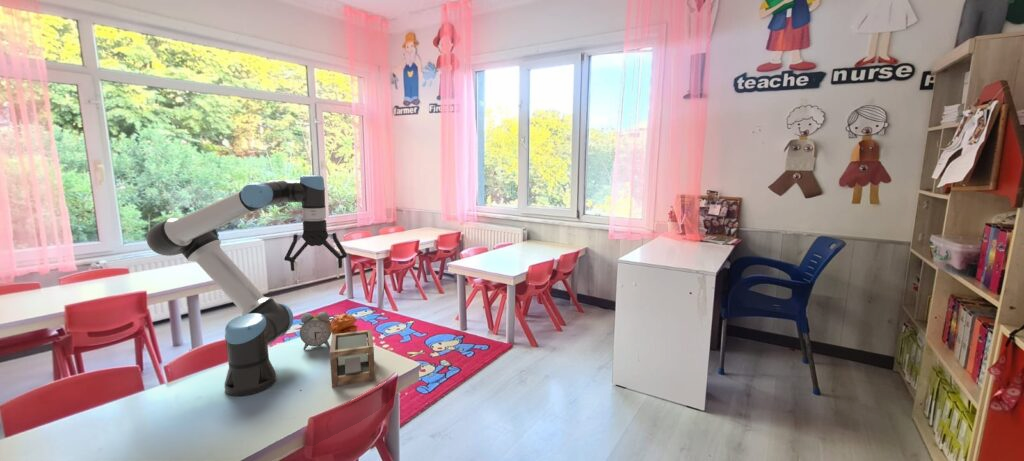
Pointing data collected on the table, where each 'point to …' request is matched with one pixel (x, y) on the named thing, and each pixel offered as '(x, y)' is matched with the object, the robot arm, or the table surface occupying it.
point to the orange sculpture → (343, 324)
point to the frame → (347, 352)
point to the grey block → (352, 366)
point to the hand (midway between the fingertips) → (317, 278)
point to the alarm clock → (315, 329)
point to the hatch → (352, 343)
